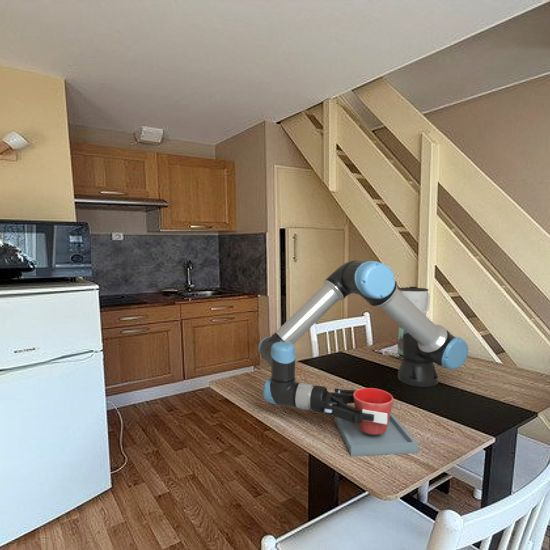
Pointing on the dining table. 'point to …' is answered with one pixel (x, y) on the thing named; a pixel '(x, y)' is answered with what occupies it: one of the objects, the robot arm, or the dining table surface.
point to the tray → (376, 439)
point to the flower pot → (373, 407)
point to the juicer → (419, 300)
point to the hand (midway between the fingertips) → (389, 410)
